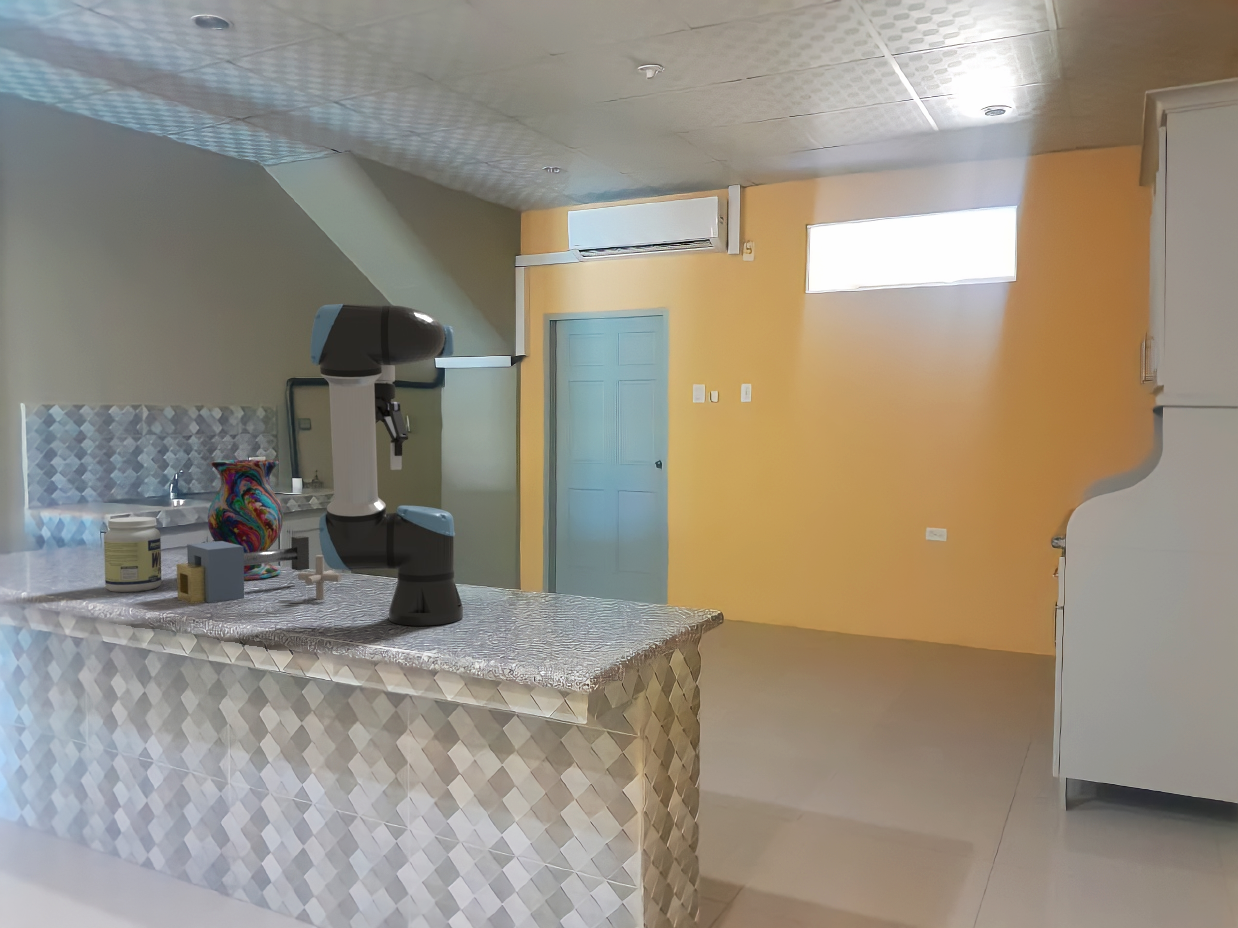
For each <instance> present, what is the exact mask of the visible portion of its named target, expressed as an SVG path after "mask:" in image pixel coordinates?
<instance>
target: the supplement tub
mask: <svg viewBox="0 0 1238 928" xmlns="http://www.w3.org/2000/svg"><path fill="white" fill-rule="evenodd" d="M157 525H158V523H157V518H156V517H153V516H152V517H151V516H131V517H129V516H127V517H126V516H125V517H117V518H115V517H114V518H111V519H108V520H107V528H108V529H109V530H108V531H106V532H105V534H104V536H103V542H104V543H103V545H104V546H103V547H104V549H103V550H104V551H103V552H104V582H105V583H104V584H105V587H106V589H107V590H108V591H109V592H117V593H132V592H133V593H135V592H143V591H150V590H155V589H157V588H158V587H160V586H161V584H162V547H161V545H162V544H161V543H162V542H161V539H162V538H161V532H160V530H158V529H157V528H156V526H157Z"/></svg>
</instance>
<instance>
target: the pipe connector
mask: <svg viewBox="0 0 1238 928" xmlns="http://www.w3.org/2000/svg"><path fill="white" fill-rule="evenodd" d="M342 576H343V575H342V574H341V573H335V571H334V570H333V569H332V570H331V569H329V570H327V571H325V560H324V557H323V554H317V555H315V572H307V571H306V572H304V571H303V572H301V571H300V572H299V573H298V575H297V578H298V580H299V581H304V584H305V585H307V586H311V585H314V584H315V600H317V601H320V600H321V601H322V600H324V599H325V582H334V583H335V582H336V583H337V582H338V583H340V582H342V578H343V577H342Z"/></svg>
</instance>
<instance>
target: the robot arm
mask: <svg viewBox="0 0 1238 928" xmlns="http://www.w3.org/2000/svg"><path fill="white" fill-rule="evenodd" d="M311 328H312V330H311V335H310V347H309V348H310V350H309V351H310V353H309V354H310V361H311V363H312V364H313V365H316V366H320V367H319V369H320V370H319V371H320V376H321V377H323V378H324V380H326V381H327V382H328V385H329V387H328V388H329V409H330V410H329V411H330V433H331V434H330V436H331V453H332V454H331V455H332V456H331V457H332V473H333V474H332V475H333V476H332V477H333V478H332V479H333V500H332V501H331V502H329V504H328V505H327V506H326V512H324V513H322V514H321V515H320V517H319V520H318V521H319V522H318V529H319V534H318V535H319V543H320V550H321V553H322V554H321V555H323V557H324V563H325V564H326V565H327V566H328V567H329V568H330V569H332V570H335V571H336V570H337V571H338V570H340V571H341V570H342V571H350V572H352V571H367V570H370V571H371V570H372V571H373V570H396V571H397V583H396V586H395V590H394V593H393V596H392V599H391V603H390V606H389V608H388V612H389V613H388V620H389V621H390V622H391V623H394V624H397V625H402V626H414V627H415V626H417V627H419V626H420V627H421V626H422V627H425V626H427V627H428V626H438V625H447V624H450V623H455V622H458V621H460V620H461V619H463V616H464V606H463V604H462V600H461V597H460V595H459V591H458V587H457V585H456V581H455V540H454V539H455V536H456V532H455V525H454V523H455V521H454V517H453V515H452V514H451V513H450V512H449V511H447V510H443V509H440V508H435V507H427V506H422V505H420V506H419V505H399V506H397V508H396V510H395V511H396V512H387V508H386V507H387V506H386V503H385V502H384V501H383V500H382V499H381V498H379V495H378V493H379V492H378V490H379V489H378V464H377V463H378V461H377V460H378V459H377V458H378V457H377V428H376V427H377V426H376V424H377V423H378V422H379V421H380V422H382V423H383V425H384V426H385V428H386V431H387V433H388V435H389V437H390V439H391V441H390V443H389V445H390V447H389V448H390V451H389V453H390V459H389V462H390V471H391V470H392V471H396V470H397V471H401V470H402V468H403V467H402V466H403V460H402V459H403V456H402V455H403V443H404V442H405V441H409V434H408V431H407V428H406V424H405V422H404V418H403V415H402V411H401V403H400V402H399V401H392V400H394V399H395V398H396V385H395V384H394V383H393V382H395V381H396V367H395V366H402V365H409V364H415V363H419V362H420V363H421V362H424V361H428V360H431V359H433V358H444V357H452V356H453V355H454V352H455V351H454V347H455V346H454V344H455V343H454V342H455V341H454V339H455V338H454V337H455V336H454V327H452V326H451V325H447V324H446V325H445V324H441V323H440V321H439V320H438V319H437V318H436V317H434V316H432V315H431V314H429V313H426V312H424V311H421V310H419V309H415V308H412V307H408V306H403V305H394V304H391V305H380V304H379V305H377V304H376V305H375V304H349V303H340V304H339V303H338V304H337V303H336V304H325V305H322V306H320V307H319V308H318V309H317V311H316V313H315V315H314V320H313V324H312V327H311Z"/></svg>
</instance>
